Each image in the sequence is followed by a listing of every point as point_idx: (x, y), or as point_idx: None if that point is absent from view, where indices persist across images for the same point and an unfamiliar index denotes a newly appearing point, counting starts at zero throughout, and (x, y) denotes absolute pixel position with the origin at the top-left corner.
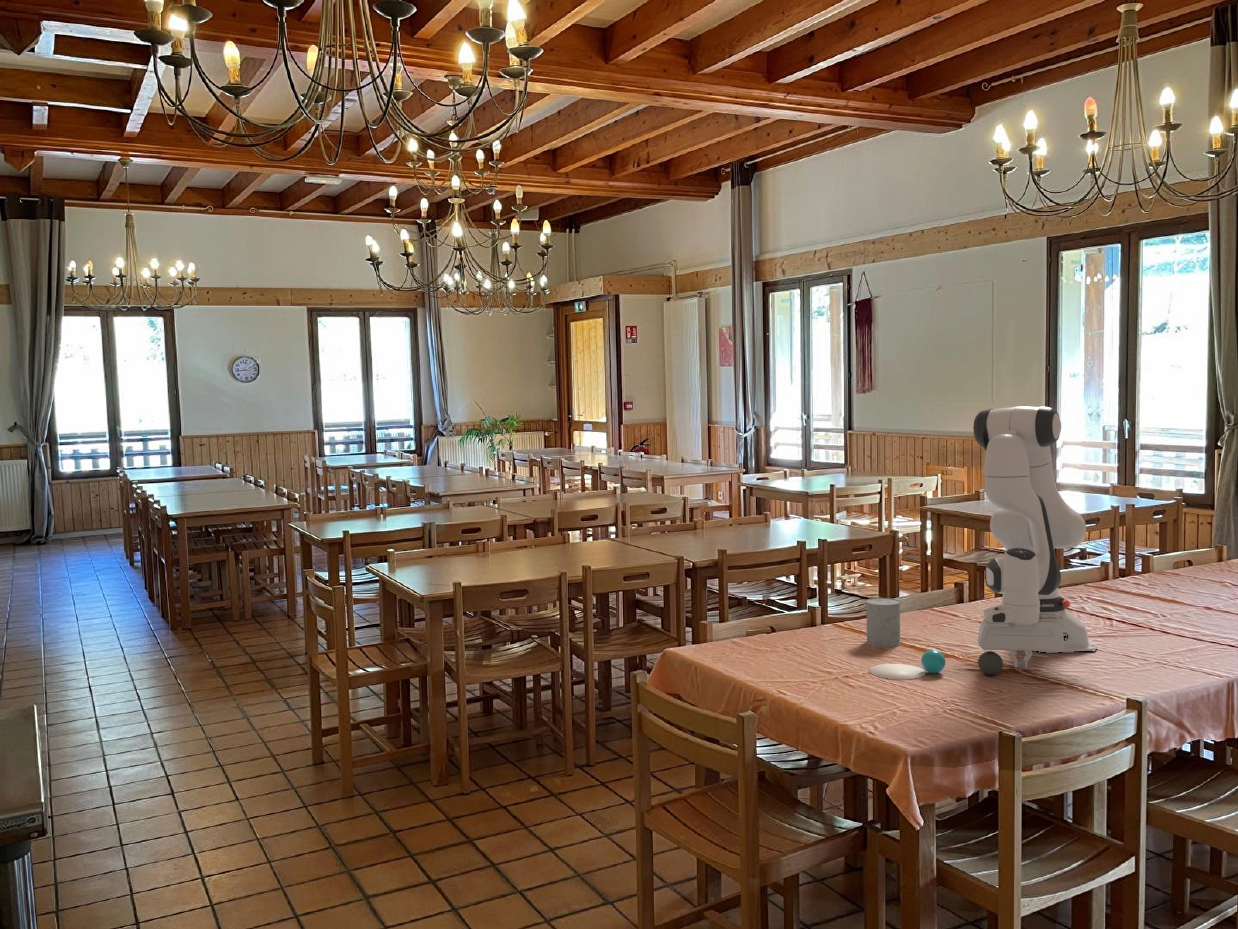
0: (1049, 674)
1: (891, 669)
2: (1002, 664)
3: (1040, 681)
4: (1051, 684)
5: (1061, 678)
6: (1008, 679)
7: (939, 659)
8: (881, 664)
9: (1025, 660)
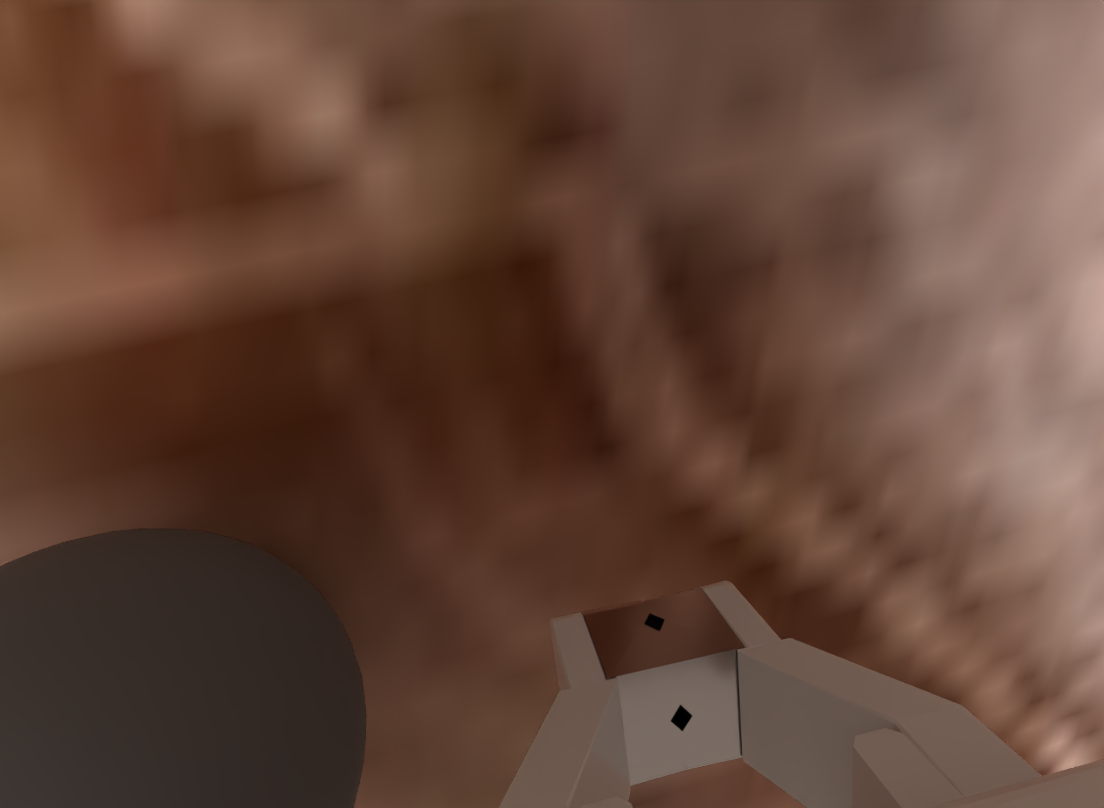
0: (942, 412)
1: None
2: (356, 794)
3: None
4: None
5: (1017, 537)
6: (454, 739)
7: None
8: None
9: (761, 769)
